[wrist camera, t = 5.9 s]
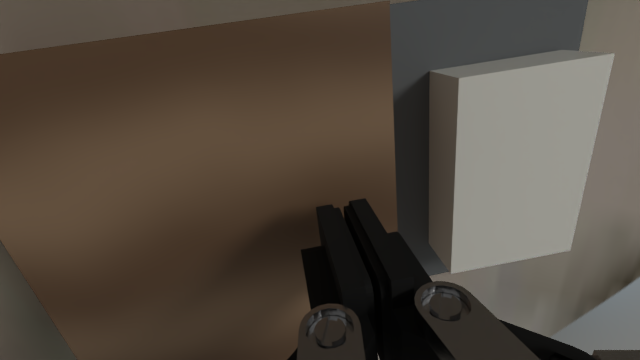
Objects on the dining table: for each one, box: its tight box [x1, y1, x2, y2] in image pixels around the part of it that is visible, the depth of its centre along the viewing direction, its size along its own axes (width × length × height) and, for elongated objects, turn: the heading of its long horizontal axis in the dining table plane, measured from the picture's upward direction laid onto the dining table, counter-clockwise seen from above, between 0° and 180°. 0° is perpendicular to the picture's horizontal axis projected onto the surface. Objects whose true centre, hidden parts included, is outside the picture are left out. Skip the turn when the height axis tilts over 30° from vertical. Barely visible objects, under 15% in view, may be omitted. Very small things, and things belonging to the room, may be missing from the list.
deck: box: [0, 1, 398, 360], centre depth 14 cm, size 14×13×4 cm
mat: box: [390, 0, 588, 276], centre depth 16 cm, size 14×10×1 cm
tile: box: [429, 50, 615, 274], centre depth 15 cm, size 9×6×2 cm, turn 8°
